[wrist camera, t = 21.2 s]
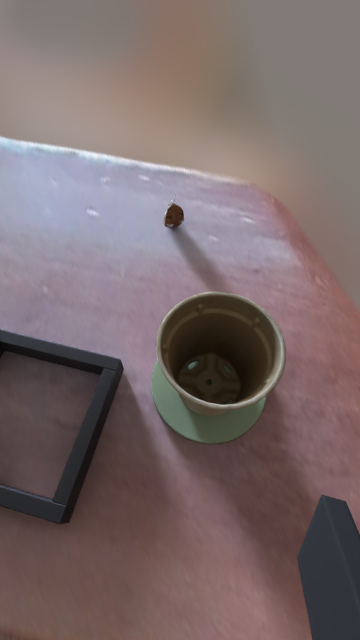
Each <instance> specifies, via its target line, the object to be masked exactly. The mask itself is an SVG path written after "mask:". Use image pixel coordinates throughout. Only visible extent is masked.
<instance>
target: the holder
mask: <svg viewBox="0 0 360 640" xmlns="http://www.w3.org/2000/svg"><path fill="white" fill-rule="evenodd" d="M4 350H5V351H9V352H13V353H17V354H21V355H25V356H29V357H33V358H36V359H40V360H44V361H48V362H52V363H56V364H60V365H64V366H68V367H72V368H76V369H79V370H83V371H87V372H91V373H95V374H99V375H101V377H100V380H99V382H98V385H97V387H96V390H95V392H94V395H93V398H92V400H91V403H90V405H89V408H88V410H87V413H86V416H85V418H84V421H83V423H82V426H81V428H80V431H79V433H78V436H77V439H76V441H75V444H74V446H73V449H72V451H71V454H70V457H69V459H68V462H67V464H66V467H65V469H64V472H63V474H62V477H61V480H60V482H59V485H58V487H57V490H56V492H55V495H54V498H53V499H49V498H46V497H43V496H39V495H36V494H33V493H29V492H26V491H23V490H19V489H16V488H13V487H9V486H6V485H3V484H0V506H2V507H5V508H9V509H12V510H15V511H18V512H22V513H25V514H28V515H31V516H35V517H38V518H41V519H44V520H48V521H51V522H54V523H57V524H63V523H69V521H70V518H71V515H72V513H73V510H74V506H75V504H76V501H77V499H78V496H79V493H80V490H81V487H82V485H83V482H84V479H85V476H86V473H87V471H88V468H89V465H90V462H91V459H92V457H93V454H94V451H95V448H96V445H97V443H98V440H99V437H100V434H101V431H102V429H103V426H104V423H105V420H106V418H107V415H108V412H109V409H110V406H111V404H112V401H113V398H114V395H115V392H116V390H117V387H118V384H119V381H120V378H121V376H122V373H123V370H124V368H123V365H122V362H121V360H120V359H117V358H113V357H109V356H105V355H101V354H97V353H93V352H89V351H85V350H81V349H77V348H73V347H69V346H65V345H61V344H57V343H53V342H49V341H45V340H41V339H37V338H33V337H29V336H25V335H21V334H17V333H13V332H9V331H5V330H1V329H0V358H1V356H2V354H3V352H4Z"/></svg>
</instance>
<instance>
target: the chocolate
mask: <svg viewBox="0 0 360 640" xmlns="http://www.w3.org/2000/svg"><path fill="white" fill-rule="evenodd" d="M175 198H176V194H175V197H174V198H173V199H172V200H171V202H169V204H168V209H167V211H166V214H165V217H164V225H165V227H169V228H175V227H177V226H179V225H180V224H181V223H182V222H183V221H184V213H183V210H182V208H181V207H180V206H178V205H176V204H174V203H173V202H174V201H175ZM173 200H174V201H173Z"/></svg>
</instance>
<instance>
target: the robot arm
mask: <svg viewBox="0 0 360 640" xmlns="http://www.w3.org/2000/svg"><path fill="white" fill-rule="evenodd" d="M297 561H298V566H299V571H300V576H301V581H302V587H303V592H304V597H305V602H306V607H307V612H308V618H309V623H310V628H311V633H312V638H313V640H360V534H359V532H358V530H357V527H356V525H355V522H354V520H353V518H352V515H351V513H350V510H349V508H348V506H347V503H346V501H342V500H339V499H335V498H332V497H328V496H324V495H321V498H320V500H319V503H318V505H317V508H316V511H315V513H314V516H313V518H312V521H311V523H310V526H309V528H308V531H307V533H306V536H305V538H304V541H303V544H302V546H301V549H300V551H299V554H298V556H297Z"/></svg>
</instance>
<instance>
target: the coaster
mask: <svg viewBox="0 0 360 640" xmlns="http://www.w3.org/2000/svg"><path fill="white" fill-rule="evenodd" d="M198 364H199V361H195V362H193V363H191V364H189V366H188V368H189V369H190V370H191V369H192V368H193V367H195V366H196V365H198ZM224 368H225V369H226V370H225V371H228V373H229V374H231V370H230V369H229V368H228V367H227V366H226V365H224ZM207 383H208V384H211V383H212V382H211V380H208V381H207ZM152 395H153V400H154V403H155V406H156V408H157V411H158V412H159V414H160V416H161V417H162V419H163V420H164V421H165V423H166V424H167V425H168V426H169V427H170V428H171V429H172V430H173V431H175V432H176V433H177V434H179V435H181V436H182V437H184V438H186V439H189V440H191V441H194V442H198V443H203V444H220V443H225V442H229V441H232V440H234V439H236V438H238V437H240V436H242V435H243V434H244V433H246V432H247V431H248V430H249V429H250V428H251V427H252V426H253V425H254V424H255V423H256V422H257V420H258V419H259V417H260V415H261V414H262V411H263V409H264V406H265V402H266V396H267V395H266V396H265V397H264V398H263V399H261V400H260V401H258V402H256V403H254V404H252V405H250V406H247V407H244V408H240V409H235V410H230V411H228V412H226V413H224V414H222V415H218V416H205V415H201V414H197V413H195V412H193V411H192V410H190V409H189V408H188V407H187V406H186V405H185V404H184V403H183V402H182V400H181V399H180V397H179V395H178V392H177V391H176V390H175V389H174V388H173V387H172V386H171V385H170V384H169V382H168V381H167V379H166V378H165V376H164V374H163V372H162V370H161V368H160V365H159V362H158V360H157V362H156V364H155V367H154V370H153V374H152ZM231 402H232V399H230V398H229V399H228V400H227V401H226V402H225V403H224V404H222V405H227V404H231Z"/></svg>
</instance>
